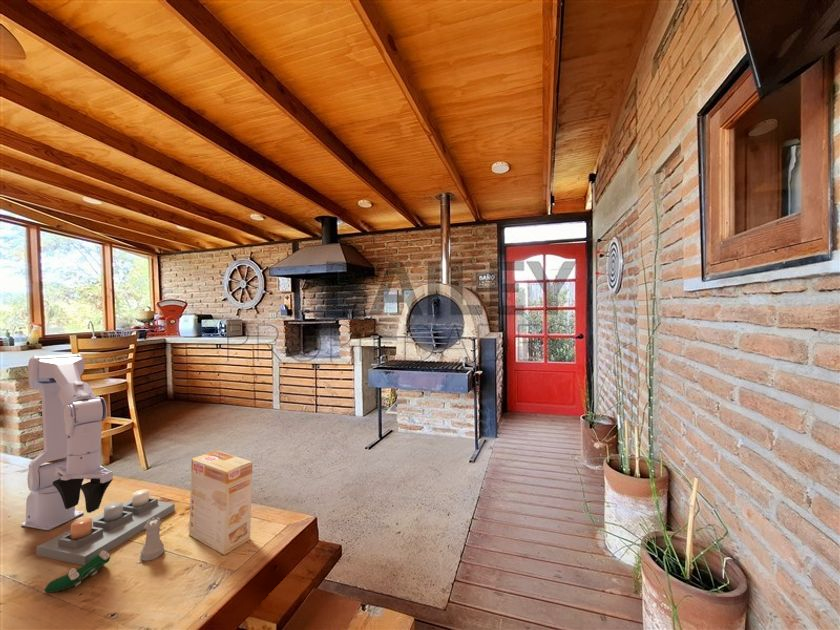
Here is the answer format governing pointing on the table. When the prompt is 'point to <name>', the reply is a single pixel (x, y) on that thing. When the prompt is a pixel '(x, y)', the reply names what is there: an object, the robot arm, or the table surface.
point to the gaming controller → (78, 573)
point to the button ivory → (140, 498)
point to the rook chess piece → (152, 541)
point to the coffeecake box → (220, 500)
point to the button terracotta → (81, 528)
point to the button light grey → (113, 512)
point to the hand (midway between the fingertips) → (82, 508)
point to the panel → (104, 533)
